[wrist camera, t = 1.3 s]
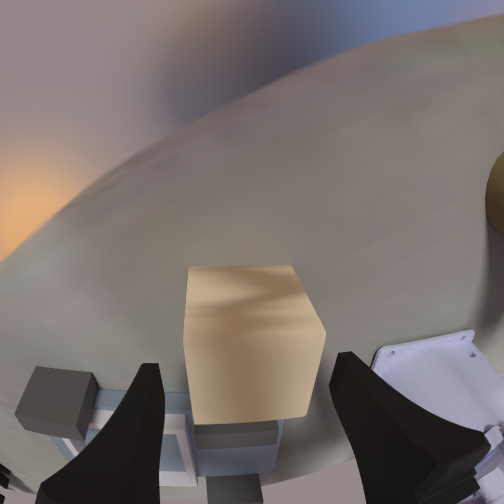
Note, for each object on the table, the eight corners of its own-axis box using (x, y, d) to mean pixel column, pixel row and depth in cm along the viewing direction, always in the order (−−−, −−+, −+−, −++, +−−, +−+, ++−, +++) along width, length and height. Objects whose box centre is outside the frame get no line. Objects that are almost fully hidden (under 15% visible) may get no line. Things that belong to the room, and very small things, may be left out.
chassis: (286, 371, 19) (303, 426, 15) (269, 465, 24) (277, 505, 20) (21, 364, 17) (-1, 410, 13) (79, 460, 22) (72, 497, 18)
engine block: (291, 264, 16) (326, 333, 11) (282, 342, 18) (305, 416, 13) (189, 266, 15) (183, 340, 10) (194, 345, 17) (194, 424, 12)
